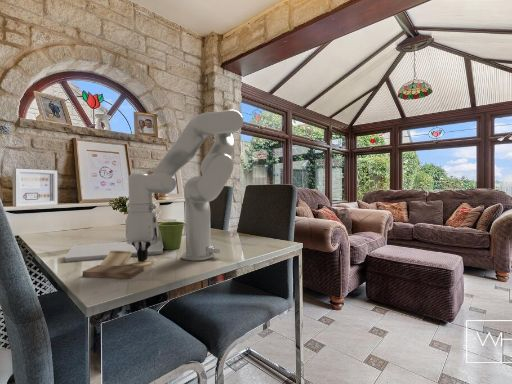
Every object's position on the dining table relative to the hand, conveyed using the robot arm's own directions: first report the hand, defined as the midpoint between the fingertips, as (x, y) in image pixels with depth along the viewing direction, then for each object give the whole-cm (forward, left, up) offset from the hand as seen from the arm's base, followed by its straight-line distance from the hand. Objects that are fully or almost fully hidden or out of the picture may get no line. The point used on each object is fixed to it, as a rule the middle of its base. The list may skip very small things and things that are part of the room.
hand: (142, 260), depth 96 cm
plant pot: (+1, -27, -2) cm, 27 cm away
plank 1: (+8, +2, 0) cm, 8 cm away
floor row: (+4, +10, -2) cm, 11 cm away
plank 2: (0, +2, -2) cm, 3 cm away
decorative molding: (+18, -13, -3) cm, 22 cm away
